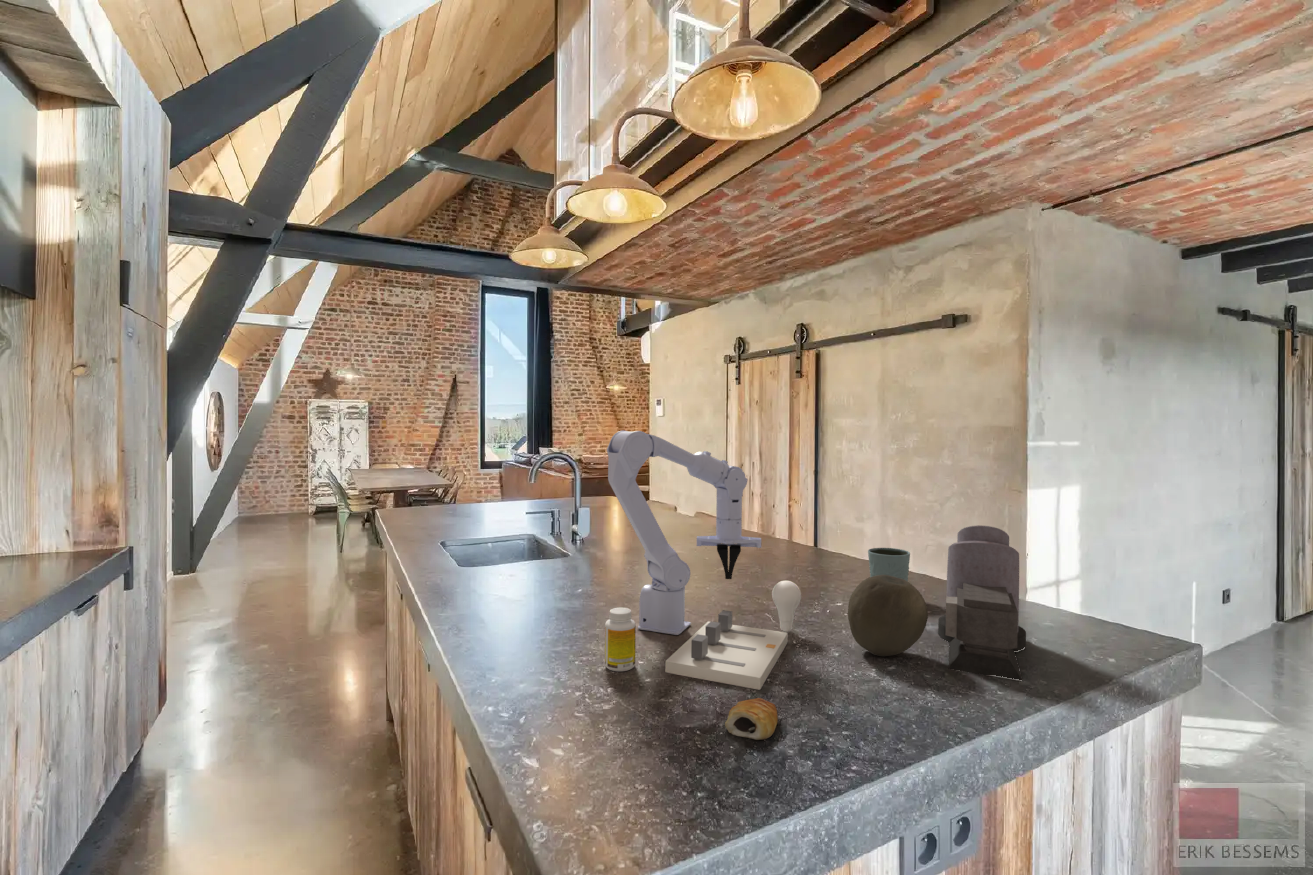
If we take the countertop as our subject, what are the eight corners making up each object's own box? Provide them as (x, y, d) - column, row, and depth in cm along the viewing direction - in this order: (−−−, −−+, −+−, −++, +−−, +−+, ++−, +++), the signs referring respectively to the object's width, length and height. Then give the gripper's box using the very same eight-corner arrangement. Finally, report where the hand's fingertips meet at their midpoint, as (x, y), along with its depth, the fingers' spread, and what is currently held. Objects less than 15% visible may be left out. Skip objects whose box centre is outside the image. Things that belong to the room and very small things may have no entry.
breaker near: (691, 657, 106) (691, 639, 106) (697, 651, 109) (697, 634, 109) (702, 659, 105) (702, 641, 105) (707, 653, 108) (707, 635, 108)
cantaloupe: (889, 673, 106) (890, 589, 106) (831, 647, 118) (832, 572, 118) (942, 659, 112) (943, 581, 112) (882, 636, 125) (883, 565, 125)
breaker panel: (665, 672, 106) (665, 660, 106) (708, 630, 128) (708, 620, 128) (759, 689, 99) (760, 677, 99) (787, 642, 121) (787, 632, 121)
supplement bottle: (640, 669, 107) (640, 612, 107) (611, 674, 104) (611, 616, 104) (628, 658, 112) (628, 604, 112) (600, 663, 109) (600, 608, 109)
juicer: (939, 620, 136) (941, 514, 136) (1021, 632, 129) (1023, 519, 128) (935, 667, 109) (937, 534, 109) (1038, 685, 102) (1040, 543, 102)
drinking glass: (915, 603, 149) (916, 555, 149) (875, 602, 149) (876, 555, 149) (899, 591, 159) (900, 547, 159) (862, 591, 160) (862, 546, 159)
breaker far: (718, 630, 121) (718, 614, 121) (722, 625, 124) (722, 609, 124) (727, 631, 120) (727, 615, 120) (732, 626, 123) (732, 611, 123)
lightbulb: (801, 638, 123) (801, 585, 123) (771, 635, 125) (771, 583, 124) (800, 628, 129) (800, 578, 129) (771, 626, 131) (772, 576, 130)
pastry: (745, 707, 93) (745, 683, 93) (787, 718, 90) (788, 693, 90) (722, 734, 85) (722, 707, 85) (767, 747, 82) (768, 719, 82)
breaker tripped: (705, 642, 114) (705, 626, 113) (710, 637, 116) (710, 621, 116) (715, 644, 113) (715, 627, 113) (720, 639, 116) (720, 622, 116)
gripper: (696, 520, 132) (695, 581, 132) (762, 521, 130) (762, 583, 130) (697, 515, 139) (697, 573, 139) (760, 517, 137) (759, 575, 137)
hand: (728, 578), depth 135 cm, fingers closed
